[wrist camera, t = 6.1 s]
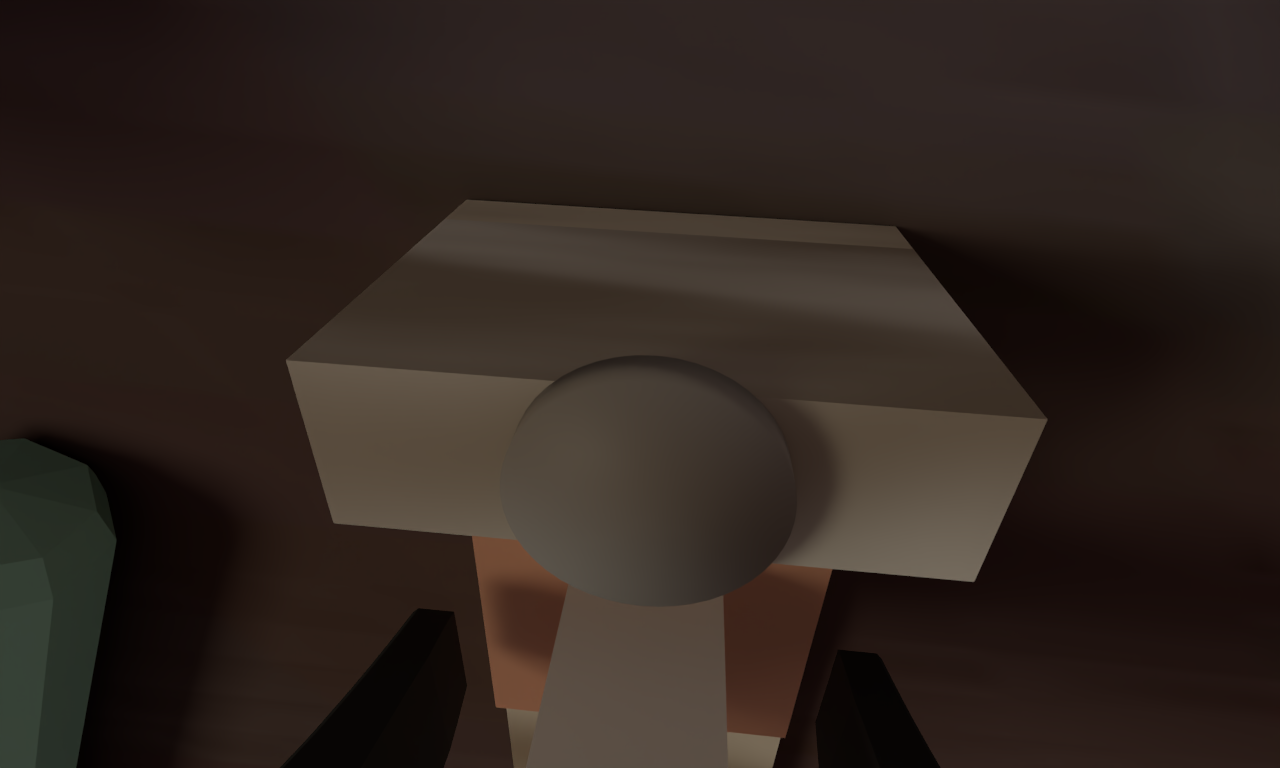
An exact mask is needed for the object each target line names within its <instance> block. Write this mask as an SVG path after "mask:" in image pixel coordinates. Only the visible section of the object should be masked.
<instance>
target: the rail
mask: <svg viewBox="0 0 1280 768" xmlns="http://www.w3.org/2000/svg"><path fill="white" fill-rule="evenodd" d="M286 362H287V366H288V369H289V372H290V376H291V379H292V383H293V386H294V390H295V393H296V396H297V400H298V403H299V407H300V410H301V413H302V417H303V420H304V424H305V427H306V431H307V434H308V437H309V441H310V444H311V448H312V451H313V454H314V458H315V461H316V465H317V468H318V471H319V475H320V478H321V482H322V485H323V489H324V492H325V495H326V499H327V502H328V506H329V509H330V512H331V516H332V519H333V523H338V524H349V525H360V526H371V527H381V528H392V529H403V530H414V531H425V532H436V533H447V534H458V535H469V536H479V537H490V538H501V539H512V540H518V541H519V542H520V544H521V545H522V547H523V548H524V549H525V550H526V551H527V552H528V554H529V555H530V556H531V557H532V558H533V559H534V560H535V561H536V562H537V563H539V564H540V565H541V566H542V567H543V568H544V569H546V570H547V571H548V572H550V573H551V574H553V575H554V576H556V577H557V578H558V579H560V580H562V581H564V582H565V583H567V584H569V585H571V586H573V587H574V588H577V589H579V590H581V591H584V592H586V593H588V594H591V595H594V596H597V597H600V598H603V599H606V600H610V601H615V602H619V603H623V604H630V605H637V606H652V607H666V606H680V605H688V604H694V603H699V602H703V601H707V600H711V599H714V598H717V597H720V596H723V595H725V594H727V593H730V592H732V591H734V590H736V589H738V588H740V587H742V586H743V585H745V584H747V583H748V582H750V581H752V580H753V579H754V578H756V577H757V576H758V575H760V574H761V573H762V572H763V571H765V570H766V569H767V568H768V567H769V566H770V565H771V563H773V564H784V565H795V566H806V567H817V568H828V569H838V570H849V571H860V572H871V573H882V574H893V575H904V576H915V577H925V578H936V579H947V580H958V581H969V582H974V581H975V579H976V577H977V575H978V572H979V570H980V568H981V566H982V563H983V561H984V559H985V557H986V555H987V552H988V550H989V548H990V546H991V544H992V541H993V539H994V537H995V535H996V533H997V530H998V528H999V526H1000V524H1001V521H1002V519H1003V517H1004V515H1005V513H1006V510H1007V508H1008V506H1009V504H1010V502H1011V499H1012V497H1013V495H1014V493H1015V491H1016V488H1017V486H1018V484H1019V482H1020V479H1021V477H1022V475H1023V473H1024V471H1025V468H1026V466H1027V464H1028V462H1029V460H1030V457H1031V455H1032V453H1033V451H1034V449H1035V446H1036V444H1037V442H1038V440H1039V437H1040V435H1041V433H1042V431H1043V429H1044V426H1045V424H1046V422H1047V420H1048V419H1047V418H1046V417H1045V415H1044V414H1043V413H1042V412H1041V410H1040V409H1039V408H1038V407H1037V405H1036V404H1035V403H1034V402H1033V400H1032V399H1031V398H1030V396H1029V395H1028V394H1027V393H1026V391H1025V390H1024V389H1023V388H1022V386H1021V385H1020V384H1019V383H1018V381H1017V380H1016V379H1015V377H1014V376H1013V375H1012V374H1011V372H1010V371H1009V370H1008V369H1007V367H1006V366H1005V365H1004V363H1003V362H1002V361H1001V360H1000V358H999V357H998V356H997V355H996V353H995V352H994V351H993V350H992V348H991V347H990V346H989V344H988V343H987V342H986V341H985V339H984V338H983V337H982V336H981V334H980V333H979V332H978V330H977V329H976V328H975V327H974V325H973V324H972V323H971V322H970V320H969V319H968V318H967V317H966V315H965V314H964V313H963V311H962V310H961V309H960V308H959V306H958V305H957V304H956V303H955V301H954V300H953V299H952V298H951V296H950V295H949V294H948V292H947V291H946V290H945V289H944V287H943V286H942V285H941V284H940V282H939V281H938V280H937V278H936V277H935V276H934V275H933V273H932V272H931V271H930V270H929V268H928V267H927V266H926V265H925V263H924V262H923V261H922V259H921V258H920V257H919V256H918V254H917V253H916V252H915V251H914V249H913V248H912V247H911V246H910V244H909V243H908V242H907V240H906V239H905V238H904V237H903V235H902V234H901V233H900V232H899V230H898V229H897V228H896V226H881V225H865V224H849V223H833V222H817V221H801V220H785V219H769V218H753V217H737V216H721V215H705V214H689V213H673V212H657V211H641V210H625V209H609V208H593V207H577V206H561V205H545V204H529V203H513V202H497V201H481V200H466V201H465V202H464V203H463V204H461V205H460V206H459V207H458V208H457V209H456V210H455V211H453V212H452V213H451V214H450V215H449V216H448V217H447V218H446V219H444V220H443V221H442V222H441V223H440V224H439V225H438V226H437V227H435V228H434V229H433V230H432V231H431V232H430V233H429V234H428V235H426V236H425V237H424V238H423V239H422V240H421V241H420V242H419V243H417V244H416V245H415V246H414V247H413V248H412V249H411V250H410V251H408V252H407V253H406V254H405V255H404V256H403V257H402V258H401V259H399V260H398V261H397V262H396V263H395V264H394V265H393V266H392V267H390V268H389V269H388V270H387V271H386V272H385V273H384V274H383V275H381V276H380V277H379V278H378V279H377V280H376V281H375V282H374V283H372V284H371V285H370V286H369V287H368V288H367V289H366V290H364V291H363V292H362V293H361V294H360V295H359V296H358V297H357V298H355V299H354V300H353V301H352V302H351V303H350V304H349V305H348V306H346V307H345V308H344V309H343V310H342V311H341V312H340V313H339V314H337V315H336V316H335V317H334V318H333V319H332V320H331V321H330V322H328V323H327V324H326V325H325V326H324V327H323V328H322V329H321V330H319V331H318V332H317V333H316V334H315V335H314V336H313V337H312V338H310V339H309V340H308V341H307V342H306V343H305V344H304V345H303V346H301V347H300V348H299V349H298V350H297V351H296V352H295V353H294V354H292V355H291V356H290V357H289V358H288V359H287V360H286ZM538 713H539V712H536V711H526V710H517V709H508V708H507V716H508V724H509V732H510V740H511V748H512V756H513V764H514V768H526V765H527V761H528V756H529V752H530V748H531V743H532V739H533V735H534V730H535V726H536V722H537V717H538ZM779 742H780V738H779V737H770V736H761V735H751V734H742V733H732V732H727V748H728V768H772V767H773V764H774V760H775V756H776V753H777V749H778V745H779Z"/></svg>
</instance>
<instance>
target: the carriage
mask: <svg viewBox="0 0 1280 768" xmlns="http://www.w3.org/2000/svg"><path fill="white" fill-rule="evenodd" d="M472 539H473V546H474V553H475V560H476V568H477V575H478V582H479V589H480V596H481V603H482V610H483V618H484V625H485V632H486V639H487V646H488V653H489V660H490V668H491V675H492V682H493V689H494V696H495V703H496V707H498V708H508V709H517V710H526V711H536V712H539V713H538V717H537V722H536V726H535V730H534V735H533V739H532V743H531V748H530V752H529V756H528V761H527V765H526V768H728V748H727V732H732V733H742V734H751V735H761V736H770V737H779V738H785V737H786V734H787V730H788V727H789V723H790V719H791V716H792V712H793V709H794V705H795V701H796V698H797V694H798V691H799V687H800V684H801V680H802V676H803V673H804V669H805V666H806V662H807V658H808V655H809V651H810V648H811V644H812V640H813V637H814V633H815V630H816V626H817V623H818V619H819V615H820V612H821V608H822V605H823V601H824V597H825V594H826V590H827V587H828V583H829V579H830V576H831V572H832V569H828V568H817V567H806V566H795V565H784V564H773V563H771V565H770V566H769V567H768V568H767V569H766V570H765V571H763V572H762V573H761V574H760V575H758V576H757V577H756V578H754V579H753V580H752V581H750V582H748V583H747V584H745V585H743V586H742V587H740V588H738V589H736V590H734V591H732V592H730V593H727V594H725V595H723V596H720V597H717V598H714V599H711V600H707V601H703V602H699V603H694V604H688V605H680V606H666V607H652V606H637V605H630V604H623V603H619V602H615V601H610V600H606V599H603V598H600V597H597V596H594V595H591V594H588V593H586V592H584V591H581V590H579V589H577V588H574V587H573V586H571V585H569V584H567V583H565V582H564V581H562V580H560V579H558V578H557V577H556V576H554V575H553V574H551V573H550V572H548V571H547V570H546V569H544V568H543V567H542V566H541V565H540V564H539V563H537V562H536V561H535V560H534V559H533V558H532V557H531V556H530V555H529V554H528V552H527V551H526V550H525V549H524V548H523V547H522V545H521V544H520V542H519V541H518V540H512V539H501V538H490V537H479V536H472Z"/></svg>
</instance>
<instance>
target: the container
mask: <svg viewBox="0 0 1280 768" xmlns="http://www.w3.org/2000/svg"><path fill="white" fill-rule="evenodd" d="M116 541H117V539H116V535H115V530H114V526H113V521H112V517H111V512H110V508H109V503H108V498H107V494H106V492H105V490H104V488H103V487H102V485H101V483H100V481H99V480H98V478H97V476H96V474H95V473H94V472H93V471H92V470H91V469H90V467H89V466H88V465H86V464H84V463H81V462H79V461H77V460H74V459H72V458H70V457H67V456H65V455H62V454H60V453H58V452H55V451H53V450H51V449H48V448H46V447H44V446H41V445H39V444H37V443H34V442H32V441H29V440H27V439H25V438H24V439H10V440H0V768H76V766H77V761H78V755H79V749H80V744H81V738H82V732H83V727H84V721H85V716H86V710H87V704H88V699H89V693H90V687H91V682H92V676H93V671H94V665H95V659H96V654H97V648H98V643H99V637H100V631H101V626H102V620H103V614H104V609H105V603H106V598H107V592H108V586H109V581H110V575H111V569H112V564H113V558H114V553H115V547H116Z"/></svg>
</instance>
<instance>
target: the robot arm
mask: <svg viewBox="0 0 1280 768" xmlns="http://www.w3.org/2000/svg"><path fill="white" fill-rule="evenodd" d="M466 687H467V683H466V678H465V672H464V666H463V661H462V655H461V649H460V644H459V638H458V632H457V626H456V621H455V615H454V612H450V611H440V610H430V609H417V610H416V611H414V612H413V613H412V614H411V616H410V617H409V618H408V619H407V621H406V622H405V623H404V625H403V626H402V627H401V628H400V630H399V631H398V632H397V634H396V635H395V636H394V637H393V639H392V640H391V641H390V642H389V644H388V645H387V646H386V647H385V649H384V650H383V651H382V652H381V654H380V655H379V656H378V657H377V658H376V660H375V661H374V662H373V663H372V665H371V666H370V667H369V668H368V669H367V671H366V672H365V673H364V674H363V675H362V677H361V678H360V679H359V680H358V681H357V683H356V684H355V685H354V686H353V687H352V689H351V690H350V691H349V692H348V693H347V694H346V695H345V697H344V698H343V699H342V700H341V701H340V702H339V703H338V705H337V706H336V707H335V708H334V709H333V710H332V711H331V713H330V714H329V715H328V716H327V717H326V718H325V719H324V721H323V722H322V723H321V724H320V725H319V726H318V727H317V729H316V730H315V731H314V732H313V733H312V734H311V735H310V736H309V737H308V739H307V740H306V741H305V742H304V743H303V744H302V745H301V746H300V747H299V748H298V749H297V750H296V751H295V753H294V754H293V755H292V756H291V757H290V758H289V759H288V760H287V761H286V762H285V763H284V764H283V765H282V766H281V767H280V768H443V767H444V765H445V762H446V759H447V756H448V754H449V751H450V748H451V744H452V740H453V737H454V733H455V729H456V726H457V722H458V718H459V714H460V711H461V707H462V703H463V699H464V695H465V691H466ZM815 723H816V736H817V748H818V761H819V768H940V766H939V765H938V763H937V761H936V759H935V758H934V756H933V754H932V752H931V751H930V749H929V747H928V745H927V744H926V742H925V740H924V738H923V736H922V735H921V733H920V731H919V729H918V727H917V726H916V724H915V722H914V720H913V718H912V717H911V715H910V713H909V711H908V709H907V707H906V705H905V704H904V702H903V700H902V698H901V696H900V694H899V692H898V690H897V688H896V686H895V684H894V682H893V681H892V679H891V677H890V675H889V673H888V671H887V669H886V667H885V665H884V663H883V661H882V659H881V658H880V657H879V656H878V655H877V654H875V653H865V652H855V651H845V650H838V653H837V656H836V659H835V662H834V665H833V668H832V672H831V675H830V678H829V681H828V684H827V687H826V691H825V694H824V697H823V700H822V703H821V706H820V710H819V713H818V716H817V719H816V722H815Z"/></svg>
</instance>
